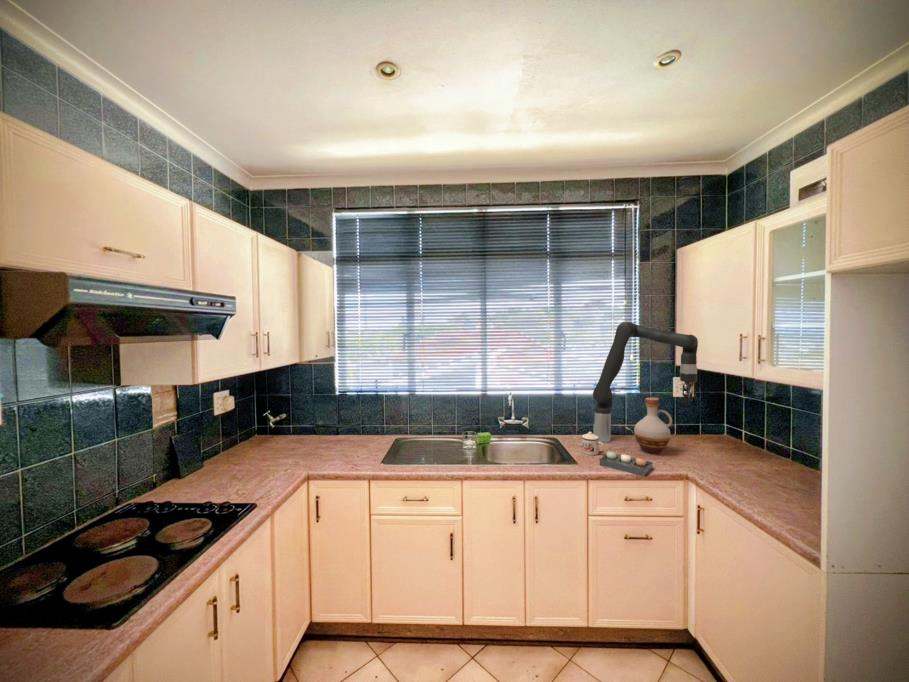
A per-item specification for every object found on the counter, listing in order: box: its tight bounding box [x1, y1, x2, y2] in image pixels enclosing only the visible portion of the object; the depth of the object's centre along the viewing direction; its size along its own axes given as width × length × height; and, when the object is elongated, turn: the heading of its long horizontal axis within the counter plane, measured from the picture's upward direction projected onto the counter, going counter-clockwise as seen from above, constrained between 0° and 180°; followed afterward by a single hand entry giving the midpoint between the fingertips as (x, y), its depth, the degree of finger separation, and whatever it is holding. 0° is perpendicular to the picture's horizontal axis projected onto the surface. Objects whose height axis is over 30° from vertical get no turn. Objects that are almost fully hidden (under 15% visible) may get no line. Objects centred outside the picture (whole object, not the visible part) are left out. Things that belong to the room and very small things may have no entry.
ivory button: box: [620, 453, 632, 464], centre depth 179 cm, size 4×4×4 cm
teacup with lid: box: [581, 431, 605, 456], centre depth 199 cm, size 12×9×12 cm
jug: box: [633, 397, 673, 455], centre depth 200 cm, size 20×18×30 cm
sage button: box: [606, 450, 617, 460], centre depth 184 cm, size 4×4×4 cm
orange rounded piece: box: [635, 457, 647, 467], centre depth 174 cm, size 4×4×4 cm
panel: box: [599, 453, 654, 477], centre depth 179 cm, size 21×13×3 cm, turn 46°
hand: (688, 402), depth 190 cm, fingers open, 8 cm apart
